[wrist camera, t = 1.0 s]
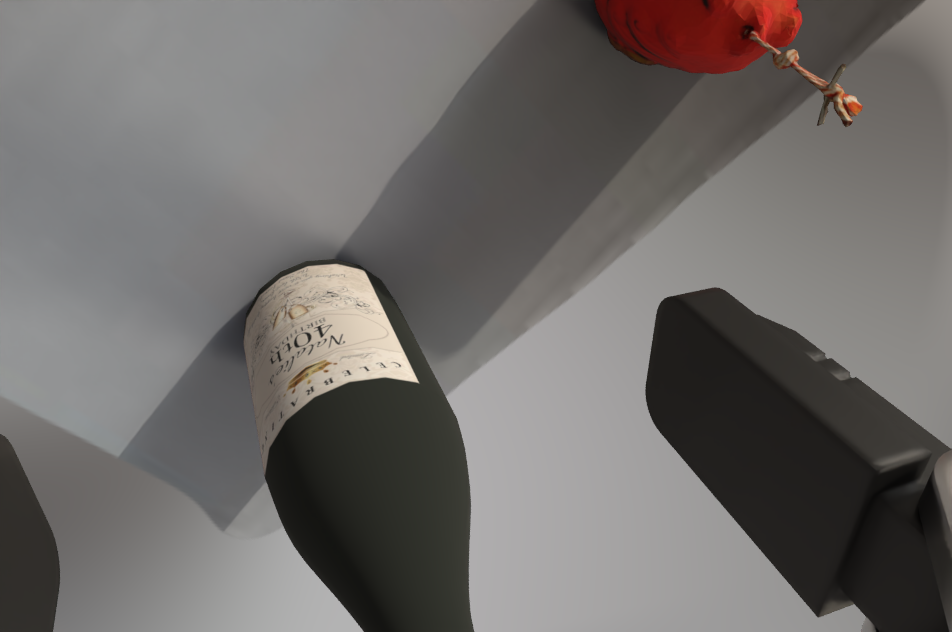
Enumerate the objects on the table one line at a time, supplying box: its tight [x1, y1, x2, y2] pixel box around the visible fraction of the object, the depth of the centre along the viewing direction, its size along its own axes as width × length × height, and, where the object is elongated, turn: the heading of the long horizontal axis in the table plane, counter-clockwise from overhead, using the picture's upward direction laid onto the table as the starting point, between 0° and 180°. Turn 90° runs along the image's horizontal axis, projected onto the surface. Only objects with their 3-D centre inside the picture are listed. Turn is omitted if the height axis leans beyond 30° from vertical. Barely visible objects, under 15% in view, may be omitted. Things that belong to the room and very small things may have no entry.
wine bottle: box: [243, 259, 474, 632], centre depth 27 cm, size 8×8×30 cm
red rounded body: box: [594, 0, 863, 127], centre depth 30 cm, size 8×7×15 cm
